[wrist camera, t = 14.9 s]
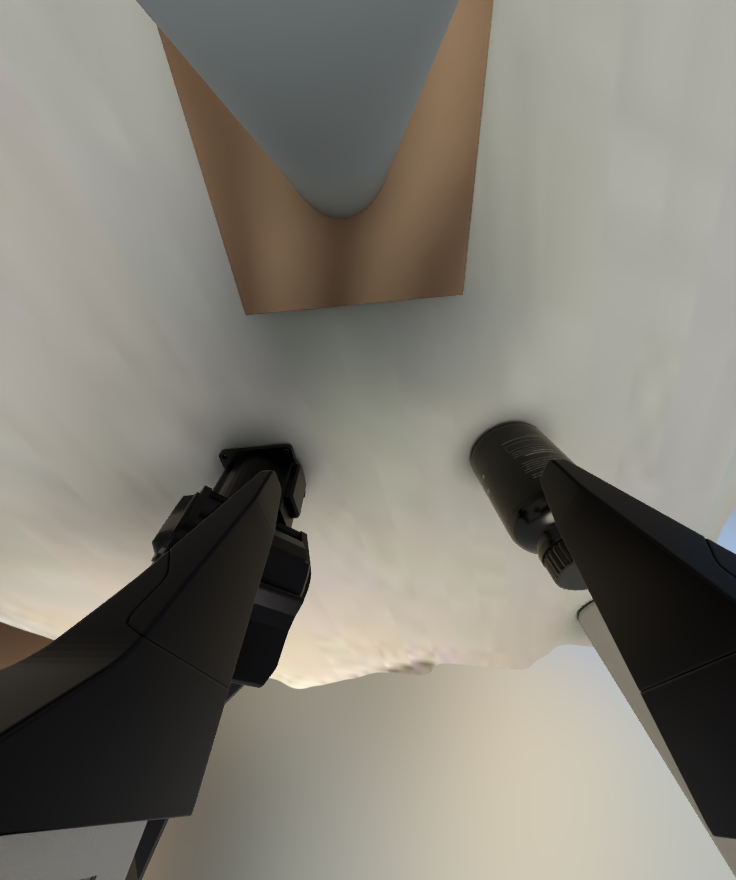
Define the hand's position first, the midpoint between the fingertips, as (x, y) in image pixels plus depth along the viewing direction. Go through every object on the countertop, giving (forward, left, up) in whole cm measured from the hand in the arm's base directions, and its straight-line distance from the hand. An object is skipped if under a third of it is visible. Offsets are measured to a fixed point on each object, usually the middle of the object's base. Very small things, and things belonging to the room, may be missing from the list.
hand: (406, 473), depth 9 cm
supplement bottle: (+12, -11, -14) cm, 21 cm away
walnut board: (-1, +10, -14) cm, 17 cm away
